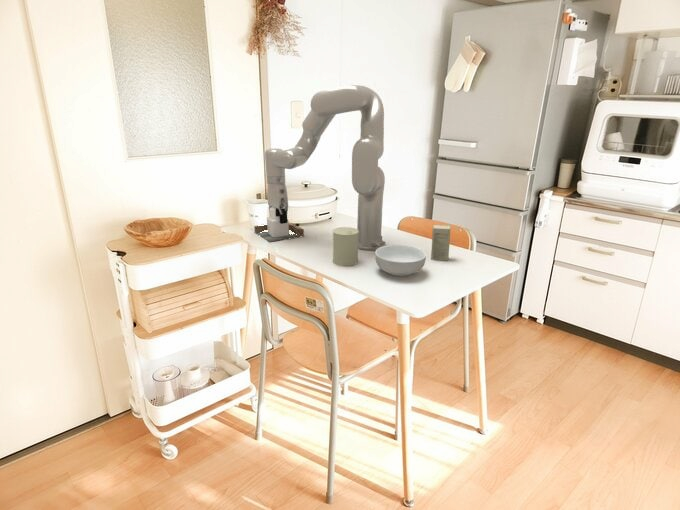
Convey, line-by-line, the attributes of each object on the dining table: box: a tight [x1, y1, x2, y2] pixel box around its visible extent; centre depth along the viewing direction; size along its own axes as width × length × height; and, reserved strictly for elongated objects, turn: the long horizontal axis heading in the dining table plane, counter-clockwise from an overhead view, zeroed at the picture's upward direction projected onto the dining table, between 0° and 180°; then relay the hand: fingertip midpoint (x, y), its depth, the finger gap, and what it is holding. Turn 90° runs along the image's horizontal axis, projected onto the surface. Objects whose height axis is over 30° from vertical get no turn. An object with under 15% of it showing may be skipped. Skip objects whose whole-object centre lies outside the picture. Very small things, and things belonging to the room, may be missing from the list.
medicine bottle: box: [266, 207, 289, 238], centre depth 185 cm, size 7×7×12 cm
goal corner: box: [253, 221, 305, 243], centre depth 188 cm, size 16×16×3 cm
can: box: [332, 226, 359, 267], centre depth 157 cm, size 9×9×12 cm
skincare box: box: [430, 224, 451, 262], centre depth 160 cm, size 6×4×12 cm
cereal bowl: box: [374, 244, 427, 277], centre depth 148 cm, size 17×17×7 cm
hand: (278, 220), depth 185 cm, fingers open, 9 cm apart
